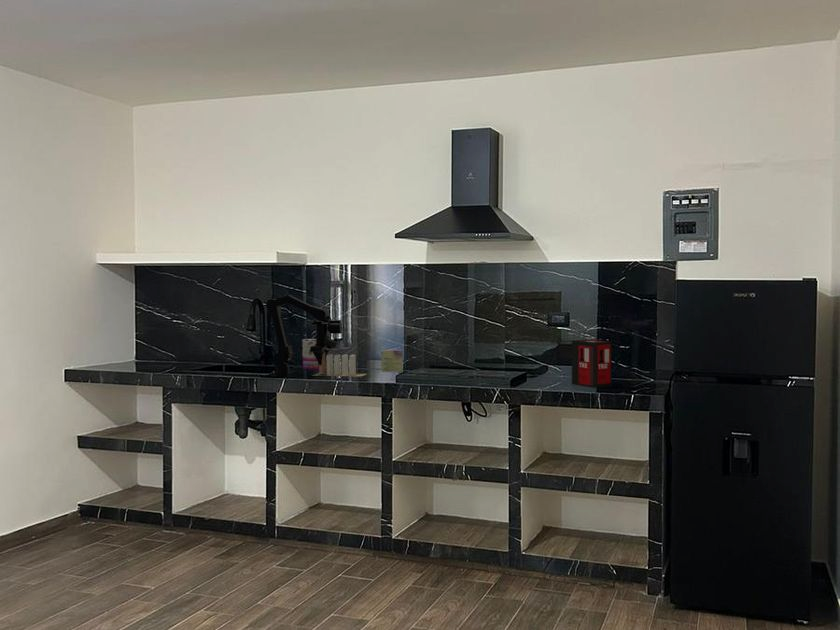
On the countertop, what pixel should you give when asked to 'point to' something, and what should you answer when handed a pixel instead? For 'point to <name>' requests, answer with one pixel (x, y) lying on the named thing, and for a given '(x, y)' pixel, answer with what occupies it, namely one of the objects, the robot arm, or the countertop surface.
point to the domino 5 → (352, 365)
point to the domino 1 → (322, 367)
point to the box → (391, 360)
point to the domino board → (337, 375)
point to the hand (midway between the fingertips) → (322, 364)
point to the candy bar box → (309, 355)
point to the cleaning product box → (592, 363)
